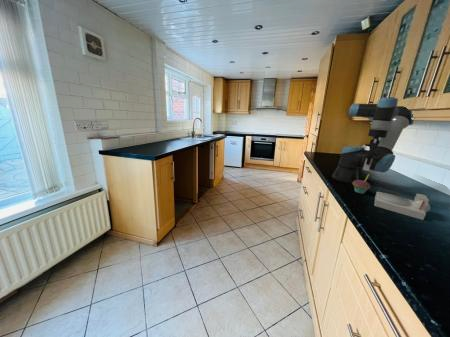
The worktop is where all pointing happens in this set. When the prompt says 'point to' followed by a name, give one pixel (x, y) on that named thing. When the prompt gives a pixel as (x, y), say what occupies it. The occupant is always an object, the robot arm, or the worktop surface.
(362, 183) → the cupcake
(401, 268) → the worktop surface
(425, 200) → the scale
